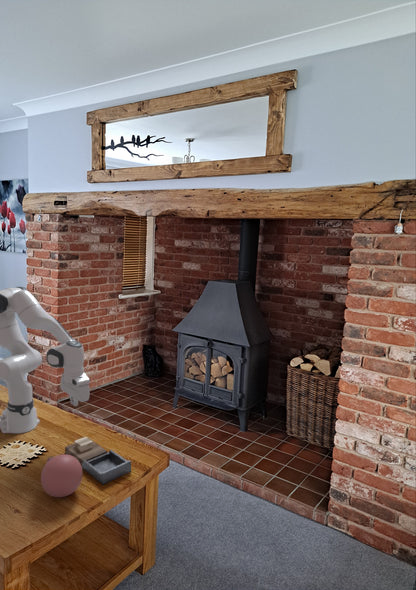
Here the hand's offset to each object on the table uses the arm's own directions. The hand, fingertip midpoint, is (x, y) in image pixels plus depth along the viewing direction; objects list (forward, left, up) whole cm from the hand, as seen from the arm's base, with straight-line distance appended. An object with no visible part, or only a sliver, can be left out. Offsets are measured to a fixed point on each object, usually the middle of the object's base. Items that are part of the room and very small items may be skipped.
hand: (74, 404), depth 199 cm
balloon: (+26, -21, -21) cm, 40 cm away
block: (+8, 0, -18) cm, 20 cm away
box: (+27, 0, -21) cm, 34 cm away
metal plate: (+10, 0, -21) cm, 23 cm away
